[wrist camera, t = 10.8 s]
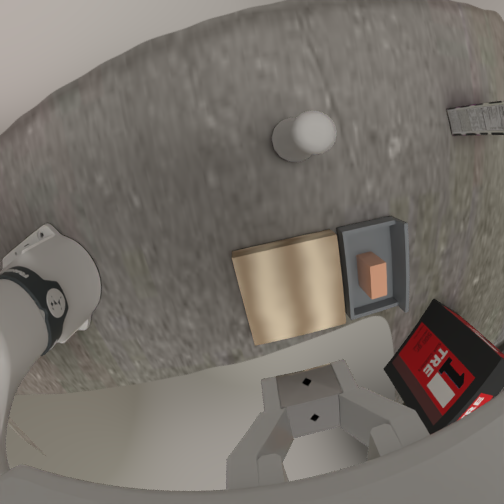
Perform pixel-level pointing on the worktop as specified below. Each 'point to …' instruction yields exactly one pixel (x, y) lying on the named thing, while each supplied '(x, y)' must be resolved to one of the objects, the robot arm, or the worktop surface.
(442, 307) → the cleaning product box
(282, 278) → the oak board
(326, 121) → the salt shaker
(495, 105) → the candy bar box
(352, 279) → the tray
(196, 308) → the worktop surface
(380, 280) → the terracotta tile
